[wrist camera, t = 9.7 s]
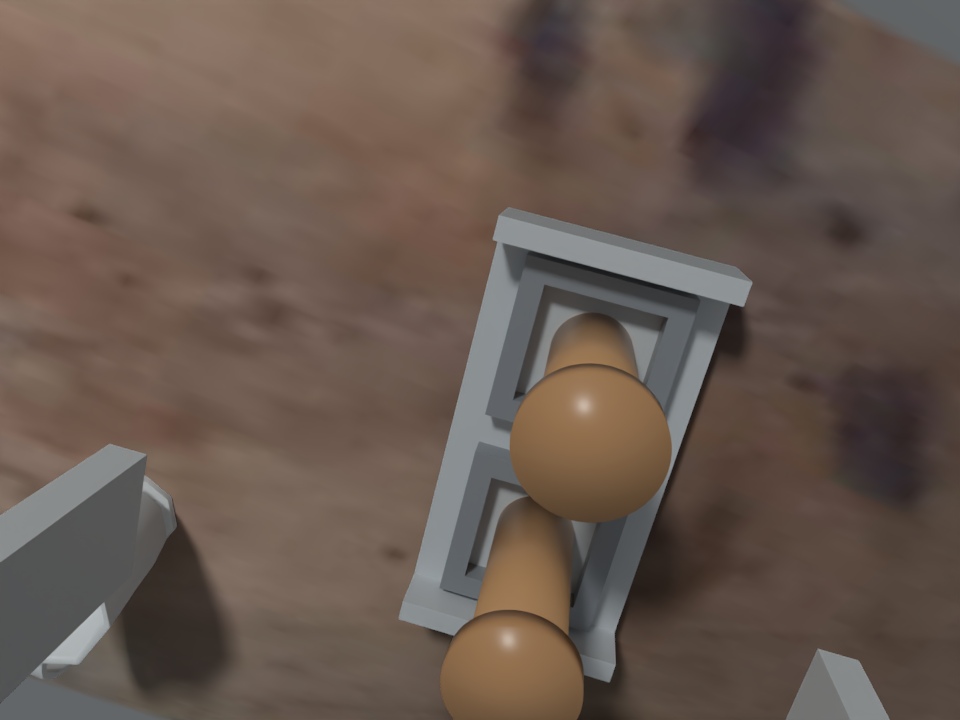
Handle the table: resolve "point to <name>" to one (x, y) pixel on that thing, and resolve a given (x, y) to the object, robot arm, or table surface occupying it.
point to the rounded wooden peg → (519, 627)
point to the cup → (149, 543)
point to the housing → (521, 364)
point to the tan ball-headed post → (590, 427)
